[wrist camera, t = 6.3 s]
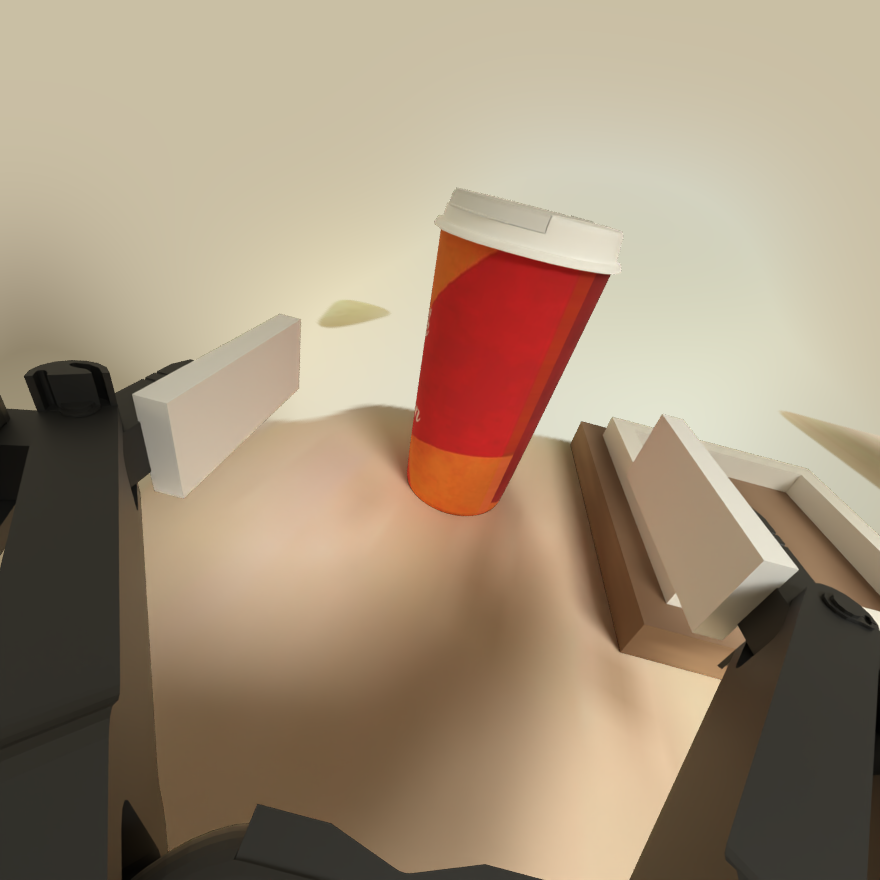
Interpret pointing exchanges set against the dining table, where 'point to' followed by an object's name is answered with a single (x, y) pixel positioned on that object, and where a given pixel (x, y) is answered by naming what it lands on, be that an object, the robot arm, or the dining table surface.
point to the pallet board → (642, 570)
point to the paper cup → (498, 340)
